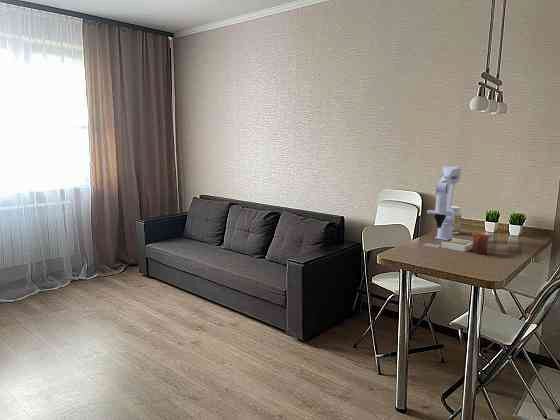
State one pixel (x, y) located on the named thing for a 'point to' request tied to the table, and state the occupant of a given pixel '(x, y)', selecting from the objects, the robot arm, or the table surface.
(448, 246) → the frame
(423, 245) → the slate coaster
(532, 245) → the table surface
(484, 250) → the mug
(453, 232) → the supplement tub
